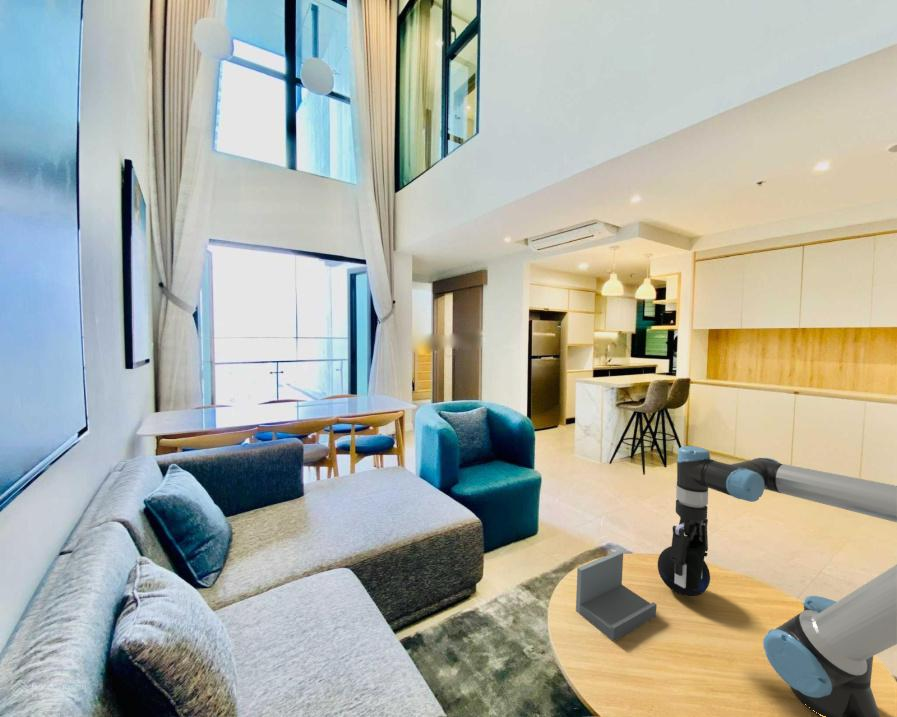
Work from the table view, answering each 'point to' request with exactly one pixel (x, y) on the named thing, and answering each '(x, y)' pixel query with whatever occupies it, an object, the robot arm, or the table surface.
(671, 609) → the table surface
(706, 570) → the decorative sphere
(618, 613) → the shelf
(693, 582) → the cup
